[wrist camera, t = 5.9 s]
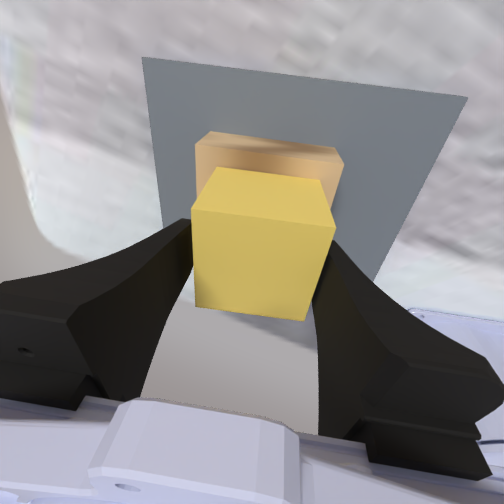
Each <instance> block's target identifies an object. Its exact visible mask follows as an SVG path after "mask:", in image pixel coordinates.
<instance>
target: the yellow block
mask: <svg viewBox="0 0 504 504" xmlns="http://www.w3.org/2000/svg"><path fill="white" fill-rule="evenodd" d="M191 222H192V243H193V264H194V285H195V307H200V308H208V309H215V310H222V311H230V312H237V313H245V314H252V315H259V316H267V317H274V318H282V319H289V320H297V321H304V320H305V317H306V314H307V311H308V309H309V306H310V303H311V300H312V297H313V294H314V291H315V288H316V285H317V282H318V280H319V277H320V274H321V271H322V268H323V265H324V262H325V259H326V256H327V254H328V251H329V248H330V245H331V242H332V239H333V236H334V233H335V230H336V225H335V222H334V219H333V217H332V214H331V211H330V208H329V205H328V202H327V199H326V197H325V194H324V191H323V188H322V185H321V182H320V180H317V179H309V178H301V177H294V176H286V175H278V174H270V173H263V172H255V171H247V170H239V169H232V168H224V167H216V169H215V170H214V172H213V174H212V175H211V177H210V178H209V180H208V182H207V183H206V185H205V187H204V188H203V190H202V191H201V193H200V195H199V196H198V198H197V200H196V201H195V203H194V204H193V206H192V208H191Z"/></svg>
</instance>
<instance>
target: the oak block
mask: <svg viewBox="0 0 504 504" xmlns="http://www.w3.org/2000/svg"><path fill="white" fill-rule="evenodd" d="M195 160H196V190H197V198H198V196H199V195H200V193H201V191H202V190H203V188H204V187H205V185H206V183H207V182H208V180H209V178H210V177H211V175H212V174H213V172H214V170H215V169H216V167H224V168H232V169H239V170H247V171H255V172H263V173H270V174H278V175H286V176H294V177H301V178H309V179H317V180H320V182H321V185H322V188H323V191H324V194H325V197H326V199H327V202H328V205H329V208H330V209H331V206H332V203H333V199H334V196H335V193H336V190H337V186H338V183H339V180H340V177H341V174H342V170H343V167H344V163H343V161H342V159H341V158H340V156H339V154H338V152H337V150H336V149H335V148H334V147H327V146H319V145H311V144H304V143H296V142H289V141H281V140H274V139H266V138H258V137H251V136H243V135H236V134H228V133H221V132H213V131H210V132H209V133H208V134H207V135H205V136H204V137H203V138H202V139H201V140H199V141H198V142H197V143H196V144H195Z"/></svg>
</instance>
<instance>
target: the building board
mask: <svg viewBox="0 0 504 504" xmlns="http://www.w3.org/2000/svg"><path fill="white" fill-rule="evenodd" d="M142 64H143V72H144V80H145V88H146V95H147V103H148V111H149V119H150V127H151V135H152V143H153V151H154V159H155V166H156V174H157V182H158V190H159V198H160V206H161V214H162V222H163V229H164V228H165V227H167V226H169V225H170V224H172V223H174V222H176V221H177V220H179V219H181V218H185V219H191V208H192V206H193V204H194V203H195V201H196V200H197V190H196V160H195V144H196V143H197V142H198V141H199V140H201V139H202V138H203V137H204V136H205V135H207V134H208V133H209V132H210V131H213V132H221V133H228V134H236V135H243V136H251V137H258V138H266V139H274V140H281V141H289V142H296V143H304V144H311V145H319V146H327V147H334V148H335V149H336V150H337V152H338V154H339V156H340V158H341V159H342V161H343V163H344V167H343V170H342V174H341V177H340V180H339V183H338V186H337V190H336V193H335V196H334V199H333V203H332V206H331V209H330V211H331V214H332V217H333V219H334V222H335V225H336V230H335V233H334V236H333V239H332V240H335V241H336V242H337V243H338V245H339V246H340V247H341V248H342V249H343V250H344V252H345V253H346V254H347V255H348V256H349V257H350V259H351V260H352V261H353V262H354V263H355V264H356V265H357V266H358V268H359V269H360V270H361V271H362V272H363V273H364V274H365V275H366V276H367V277H368V278H369V279H370V280H371V281H372V282H373V281H374V279H375V277H376V275H377V273H378V271H379V269H380V267H381V265H382V263H383V261H384V259H385V258H386V256H387V254H388V252H389V250H390V248H391V246H392V244H393V242H394V240H395V238H396V236H397V234H398V232H399V231H400V229H401V227H402V225H403V223H404V221H405V219H406V217H407V215H408V213H409V211H410V209H411V207H412V205H413V204H414V202H415V200H416V198H417V196H418V194H419V192H420V190H421V188H422V186H423V184H424V182H425V180H426V178H427V176H428V175H429V173H430V171H431V169H432V167H433V165H434V163H435V161H436V159H437V157H438V155H439V153H440V151H441V149H442V148H443V146H444V144H445V142H446V140H447V138H448V136H449V134H450V132H451V130H452V128H453V126H454V124H455V122H456V121H457V119H458V117H459V115H460V113H461V111H462V109H463V107H464V105H465V103H466V101H467V99H468V97H463V96H456V95H448V94H439V93H431V92H423V91H415V90H407V89H399V88H391V87H383V86H375V85H366V84H358V83H350V82H342V81H334V80H326V79H318V78H310V77H302V76H293V75H285V74H277V73H269V72H261V71H253V70H245V69H237V68H229V67H220V66H212V65H204V64H196V63H188V62H180V61H172V60H164V59H156V58H147V57H142Z"/></svg>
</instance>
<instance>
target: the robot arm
mask: <svg viewBox="0 0 504 504" xmlns="http://www.w3.org/2000/svg"><path fill="white" fill-rule="evenodd" d="M193 265H194V264H193V243H192V222H191V219H185V218H181V219H179V220H177V221H176V222H174V223H172V224H170V225H169V226H167V227H165V228H164V229H162V230H160V231H158V232H157V233H155V234H153V235H151V236H150V237H148V238H146V239H144V240H142V241H140V242H138V243H136V244H134V245H132V246H130V247H128V248H126V249H123V250H121V251H119V252H116V253H114V254H111V255H109V256H106V257H103V258H100V259H97V260H94V261H91V262H88V263H85V264H82V265H79V266H75V267H71V268H68V269H64V270H60V271H55V272H52V273H47V274H43V275H37V276H32V277H27V278H21V279H16V280H11V281H4V282H2V283H1V284H0V504H504V322H498V321H491V320H485V319H478V318H471V317H465V316H458V315H452V314H445V313H439V312H432V311H426V310H419V309H410V310H408V311H407V310H406V309H404V308H403V307H402V306H400V305H399V304H398V303H396V302H395V301H394V300H393V299H391V298H390V297H389V296H388V295H387V294H385V293H384V292H383V291H382V290H381V289H380V288H379V287H377V286H376V285H375V284H374V283H373V282H372V281H371V280H370V279H369V278H368V277H367V276H366V275H365V274H364V273H363V272H362V271H361V270H360V269H359V268H358V266H357V265H356V264H355V263H354V262H353V261H352V260H351V259H350V257H349V256H348V255H347V254H346V253H345V252H344V250H343V249H342V248H341V247H340V246H339V245H338V243H337V242H336V241H335V240H332V242H331V245H330V248H329V251H328V254H327V256H326V259H325V262H324V265H323V268H322V271H321V274H320V277H319V280H318V282H317V285H316V288H315V291H314V294H313V297H312V307H313V314H314V320H315V327H316V334H317V345H318V372H319V373H318V378H319V422H318V435H313V434H307V433H301V432H295V431H293V430H292V429H291V428H289V427H288V426H286V425H285V424H284V423H282V422H280V421H276V420H273V419H270V418H266V417H262V416H258V415H253V414H247V413H241V412H235V411H229V410H223V409H217V408H211V407H206V406H199V405H194V404H188V403H182V402H176V401H170V400H165V399H158V398H140V395H141V392H142V389H143V385H144V382H145V379H146V376H147V373H148V370H149V367H150V364H151V362H152V359H153V356H154V353H155V350H156V347H157V345H158V342H159V339H160V337H161V334H162V331H163V329H164V326H165V324H166V320H167V318H168V316H169V314H170V312H171V310H172V308H173V306H174V304H175V302H176V300H177V298H178V296H179V295H180V293H181V291H182V289H183V287H184V285H185V283H186V281H187V279H188V277H189V275H190V273H191V270H192V268H193Z"/></svg>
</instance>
